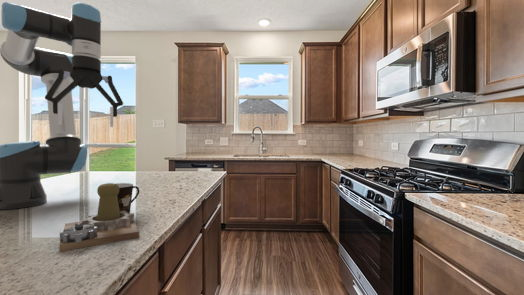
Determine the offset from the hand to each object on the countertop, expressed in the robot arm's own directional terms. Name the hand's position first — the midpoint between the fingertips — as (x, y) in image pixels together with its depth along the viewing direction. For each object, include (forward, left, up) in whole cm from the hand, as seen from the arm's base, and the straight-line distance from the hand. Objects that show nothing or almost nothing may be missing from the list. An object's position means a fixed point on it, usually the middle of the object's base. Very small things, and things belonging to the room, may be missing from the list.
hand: (86, 126), depth 84 cm
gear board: (+20, +3, -29) cm, 35 cm away
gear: (+25, -2, -27) cm, 37 cm away
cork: (+18, +5, -27) cm, 33 cm away
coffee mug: (+6, +10, -29) cm, 31 cm away
